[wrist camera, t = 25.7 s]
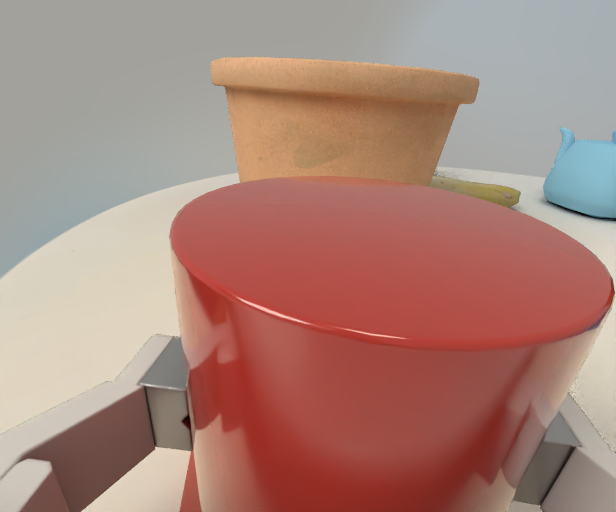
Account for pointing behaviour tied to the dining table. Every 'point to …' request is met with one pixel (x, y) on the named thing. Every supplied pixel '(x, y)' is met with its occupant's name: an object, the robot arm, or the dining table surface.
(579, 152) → the teapot
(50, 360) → the dining table surface
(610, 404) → the dining table surface
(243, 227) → the red canister
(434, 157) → the pottery
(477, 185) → the fruit
